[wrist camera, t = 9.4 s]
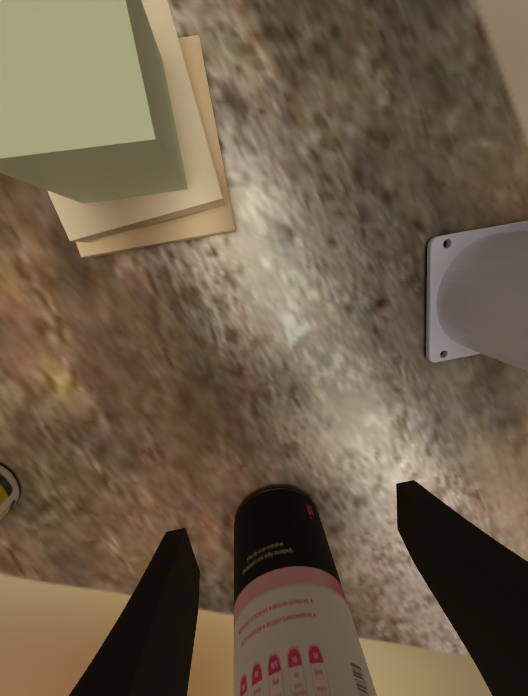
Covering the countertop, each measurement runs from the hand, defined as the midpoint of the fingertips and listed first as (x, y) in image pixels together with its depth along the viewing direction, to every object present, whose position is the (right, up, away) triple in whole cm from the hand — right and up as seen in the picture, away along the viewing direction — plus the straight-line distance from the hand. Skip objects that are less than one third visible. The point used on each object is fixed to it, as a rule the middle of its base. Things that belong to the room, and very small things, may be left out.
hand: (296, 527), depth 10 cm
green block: (-7, +15, +2) cm, 16 cm away
